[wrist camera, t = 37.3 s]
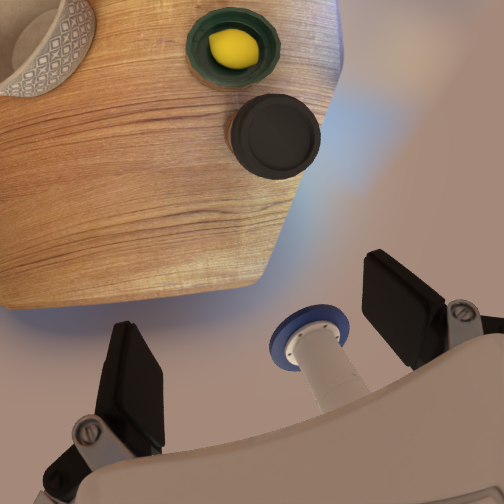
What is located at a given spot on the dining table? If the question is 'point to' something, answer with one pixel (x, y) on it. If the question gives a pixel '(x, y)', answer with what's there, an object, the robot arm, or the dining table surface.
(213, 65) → the bowl
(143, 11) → the dining table surface
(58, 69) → the planter
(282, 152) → the coffee cup
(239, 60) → the lemon
